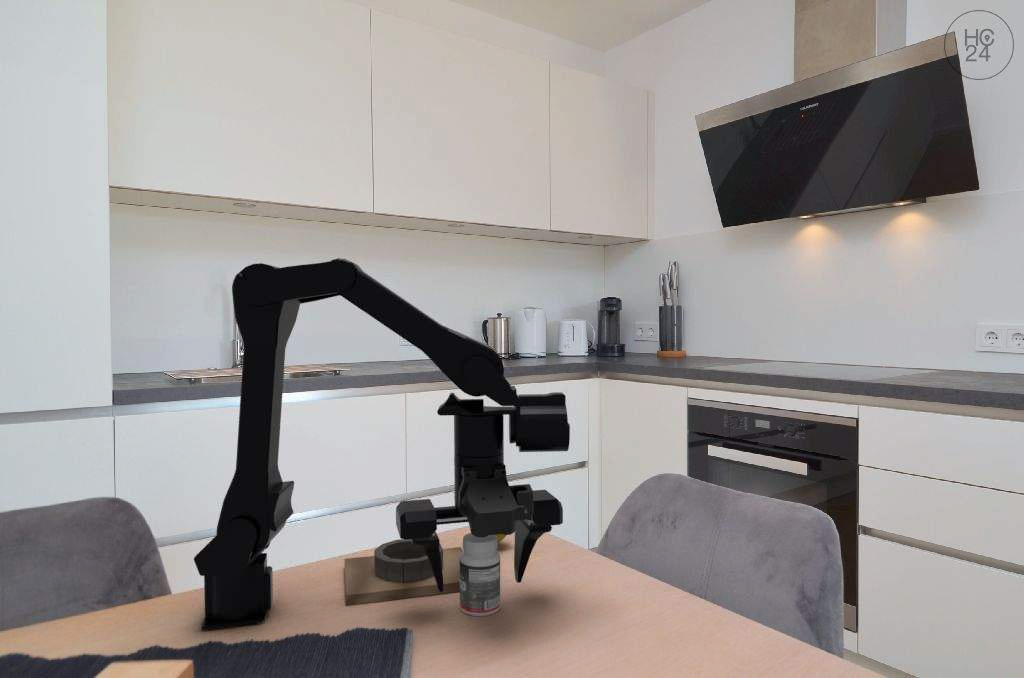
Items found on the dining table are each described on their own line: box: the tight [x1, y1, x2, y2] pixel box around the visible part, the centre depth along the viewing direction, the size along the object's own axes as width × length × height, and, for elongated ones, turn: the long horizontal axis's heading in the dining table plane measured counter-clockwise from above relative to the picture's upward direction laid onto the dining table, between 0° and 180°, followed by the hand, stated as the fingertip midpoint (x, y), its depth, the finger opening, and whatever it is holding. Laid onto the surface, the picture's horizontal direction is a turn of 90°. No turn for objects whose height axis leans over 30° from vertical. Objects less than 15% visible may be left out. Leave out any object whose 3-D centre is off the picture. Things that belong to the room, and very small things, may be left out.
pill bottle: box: [459, 532, 501, 617], centre depth 74 cm, size 5×5×8 cm
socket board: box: [343, 538, 464, 606], centre depth 83 cm, size 16×12×4 cm
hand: (479, 586), depth 74 cm, fingers open, 9 cm apart
